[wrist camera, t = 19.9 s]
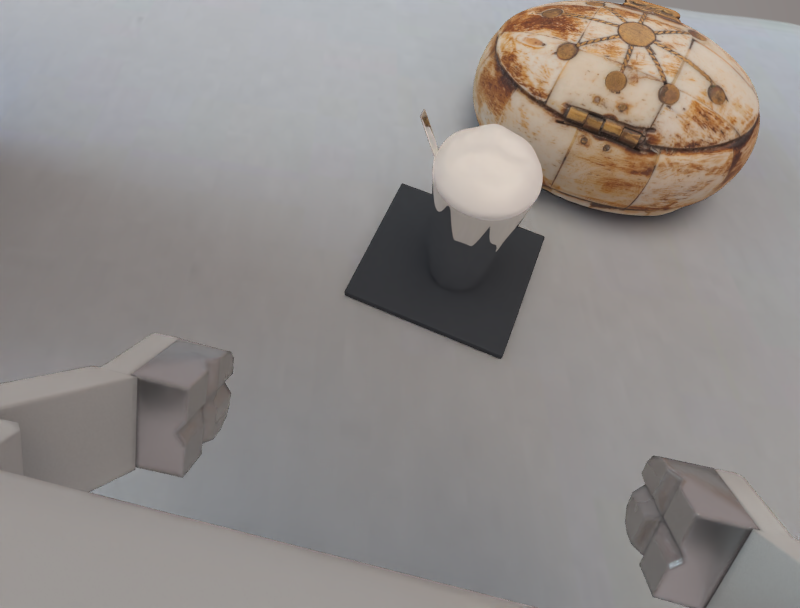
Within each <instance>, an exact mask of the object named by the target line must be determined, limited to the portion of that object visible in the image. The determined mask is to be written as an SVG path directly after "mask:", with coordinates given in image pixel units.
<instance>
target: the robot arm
mask: <svg viewBox="0 0 800 608" xmlns="http://www.w3.org/2000/svg"><path fill="white" fill-rule="evenodd" d="M233 363H234V357H233V355H232V353H231V352H230V351H226V350H222V349H218V348H214V347H211V346H207V345H203V344H199V343H195V342H192V341H188V340H184V339H181V338H178V337H173V336H169V335H164V334H159V333H152V334H151V335H149V336H148V337H146V338H145V339H143V340H142V341H140V342H139V343H137V344H135V345H134V346H132V347H131V348H129V349H128V350H126V351H125V352H123V353H122V354H120V355H119V356H117V357H116V358H114V359H113V360H111V361H110V362H108V363H107V364H105V365H104V366H102V367H101V368H99V367H95V366H88V367H83V368H78V369H73V370H67V371H62V372H57V373H52V374H47V375H41V376H36V377H31V378H26V379H21V380H16V381H10V382H5V383H0V608H537V607H533V606H529V605H525V604H521V603H517V602H513V601H509V600H506V599H502V598H498V597H494V596H490V595H486V594H482V593H478V592H474V591H471V590H467V589H463V588H459V587H455V586H451V585H447V584H443V583H439V582H436V581H432V580H428V579H424V578H420V577H416V576H412V575H408V574H404V573H401V572H397V571H393V570H389V569H385V568H381V567H377V566H373V565H369V564H366V563H362V562H358V561H354V560H350V559H346V558H342V557H338V556H334V555H331V554H327V553H323V552H319V551H315V550H311V549H307V548H303V547H299V546H296V545H292V544H288V543H284V542H280V541H276V540H272V539H268V538H264V537H261V536H257V535H253V534H249V533H245V532H241V531H237V530H233V529H229V528H226V527H222V526H218V525H214V524H210V523H206V522H202V521H198V520H194V519H191V518H187V517H183V516H179V515H175V514H171V513H167V512H163V511H160V510H156V509H152V508H148V507H144V506H140V505H136V504H132V503H128V502H125V501H121V500H117V499H113V498H109V497H105V496H101V495H97V494H93V493H90V491H92V490H94V489H97V488H99V487H101V486H103V485H105V484H107V483H109V482H111V481H113V480H115V479H117V478H119V477H121V476H123V475H125V474H127V473H129V472H131V471H133V470H135V467H137V468H142V469H146V470H151V471H155V472H160V473H164V474H169V475H173V476H178V477H182V478H183V477H184V475H185V474H186V473H187V472H188V470H189V469H190V468H191V467H192V465H193V464H194V463H195V462H196V460H197V459H198V458H199V457H200V455H201V454H202V444H203V443H205V442H208V441H210V440H213V439H214V438H215V436H216V435H217V434H218V432H219V431H220V430H221V428H222V425H223V423H224V421H225V419H226V417H227V413H228V409H229V405H230V397H231V392H230V391H229V389H228V387H227V385H226V383H225V381H226V380H227V379H228V378H229V377H230V376H231V375H232V374H233ZM642 476H643V479H644V482H645V485H644V486H642V487H640V488H639V489H637V490H635V491H634V492H632V495H631V497H630V500H629V502H628V504H627V508H626V517H625V524H626V531H627V535H628V537H629V540H630V542H631V544H632V545H633V546H634V547H635V548H636V549H637V550H638V551H639V552H640V553H641V554H642V555H643V558H642V560H641V562H640V564H639V565H640V567H641V570H642V572H643V574H644V577H645V579H646V582H647V584H648V587H649V589H650V591H651V594H652V596H653V597H654V598H658V599H661V600H665V601H669V602H672V603H676V604H679V605H683V606H686V607H690V608H800V540H796V539H794V538H793V537H792V536H791V535H790V533H789V532H788V531H787V530H786V528H785V527H784V526H783V525H782V524H781V522H780V521H779V520H778V519H777V517H776V516H775V515H774V514H773V512H772V511H771V510H770V509H769V508H768V506H767V505H766V504H765V503H764V501H763V500H762V499H761V498H760V496H759V495H758V494H757V493H756V491H755V490H754V489H753V488H752V487H751V485H750V484H749V483H748V482H747V480H746V479H745V478H744V477H742V476H741V475H739V474H737V473H734V472H729V471H724V470H719V469H714V468H710V467H705V466H701V465H696V464H692V463H687V462H682V461H678V460H673V459H669V458H664V457H658V456H652V457H651V458H650V459H649V461H648V462H647V463H646V465H645V467H644V469H643V471H642Z"/></svg>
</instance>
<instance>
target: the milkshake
mask: <svg viewBox="0 0 800 608" xmlns="http://www.w3.org/2000/svg"><path fill="white" fill-rule="evenodd" d="M420 118H421V121H422V124H423V127H424V130H425V133H426V135H427V138H428V141H429V144H430V147H431V149H432V152H433V155H434V162H433V169H432V172H433V173H432V229H431V243H430V261H429V272H430V274H431V275H432V276H433V278H434V279H435V280H436V282H437V283H438V284H439V286H441V287H444V288H446V289H449V290H452V291H455V292H461V291H466V290H471V289H475V288H476V287H477V285H478V284H479V283H480V282H481V281H482V280H483V278H484V277H485V276H486V275H487V273H488V272H489V270H490V268H491V267H492V265H493V264H494V262H495V260H496V259H497V257H498V256H499V254H500V252H501V251H502V249H503V248H504V246H505V244H506V243H507V241H508V240H509V238H510V236H511V235H512V233H513V232H514V231H515V229H516V228H517V227H518V225H519V224H520V222H521V221H522V219H523V218H524V217H525V215H526V214H527V212H528V211H529V209H530V208H531V206H532V205H533V204H534V202H535V201H536V199H537V198H538V196H539V193H540V191H541V187H542V182H543V173H542V168H541V164H540V162H539V159H538V157H537V155H536V153H535V151H534V149H533V147H532V146H531V145H530V144H529V143H528V142H527V141H526V140H525V139H524V138H522V137H521V136H519V135H517V134H515V133H513V132H512V131H510V130H508V129H507V128H505V127H503V126H501V125H499V124H488V125H482V126H478V127H474V128H468V129H463V130H460V131H458V132H456V133H454V134H453V135H451V136H450V137H449V138H447V139H446V140H445V141H444V143H443V144H442V145H441V146H440V148H439V149H438V146H437V144H436V141H435V138H434V135H433V132H432V129H431V126H430V123H429V120H428V117H427V114H426V112H425V109H424V110H423V111H422V113H421V115H420Z"/></svg>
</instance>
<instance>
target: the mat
mask: <svg viewBox="0 0 800 608" xmlns="http://www.w3.org/2000/svg"><path fill="white" fill-rule="evenodd" d="M431 229H432V194H429V193H427V192H424V191H421V190H419V189H416V188H413V187H411V186H408V185H405V184H401V186H400V188H399V190H398V192H397V194H396V196H395V198H394V199H393V201H392V203H391V205H390V207H389V209H388V211H387V213H386V215H385V216H384V218H383V220H382V222H381V224H380V226H379V228H378V230H377V232H376V233H375V235H374V237H373V239H372V241H371V243H370V245H369V247H368V249H367V250H366V252H365V254H364V256H363V258H362V260H361V262H360V264H359V266H358V267H357V269H356V271H355V273H354V275H353V277H352V279H351V281H350V283H349V284H348V286H347V288H346V290H345V295H347V296H349V297H351V298H354V299H356V300H359V301H361V302H364V303H366V304H369V305H371V306H373V307H376V308H378V309H381V310H383V311H386V312H388V313H390V314H393V315H395V316H398V317H400V318H403V319H405V320H408V321H410V322H412V323H415V324H417V325H420V326H422V327H425V328H427V329H430V330H432V331H434V332H437V333H439V334H442V335H444V336H447V337H449V338H451V339H454V340H456V341H459V342H461V343H464V344H466V345H469V346H471V347H473V348H476V349H478V350H481V351H483V352H486V353H488V354H490V355H493V356H495V357H498V358H502V356H503V354H504V351H505V348H506V345H507V343H508V340H509V337H510V334H511V331H512V328H513V325H514V323H515V320H516V317H517V314H518V311H519V308H520V306H521V303H522V300H523V297H524V294H525V291H526V289H527V286H528V283H529V280H530V277H531V274H532V271H533V269H534V266H535V263H536V260H537V257H538V254H539V252H540V249H541V246H542V243H543V240H544V236H541V235H539V234H536V233H533V232H531V231H528V230H525V229H523V228H520V227H517V228H516V229H515V231H514V232H513V233H512V235H511V236H510V238H509V240H508V241H507V243H506V244H505V246H504V248H503V249H502V251H501V252H500V254H499V256H498V257H497V259H496V260H495V262H494V264H493V265H492V267H491V268H490V270H489V272H488V273H487V275H486V276H485V277H484V278H483V280H482V281H481V282H480V283H479V284H478V285H477V287H476V288H475V289H471V290H466V291H461V292H455V291H452V290H449V289H446V288H444V287H441V286H439V284H438V283H437V282H436V280H435V279H434V278H433V276H432V275H431V274H430V272H429V261H430V243H431Z"/></svg>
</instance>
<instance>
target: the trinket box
mask: <svg viewBox="0 0 800 608" xmlns="http://www.w3.org/2000/svg"><path fill="white" fill-rule="evenodd" d="M679 18H680V15H679V13H677V12H676V11H673V10H671V9H668V8H665V7H662V6H659V5H655V4H652V3H648V2H645V1H642V0H625V3H623V4H616V3H610V2H603V1H583V0H578V1H562V2H555V3H549V4H544V5H540V6H537V7H533V8H530V9H527V10H525V11H522V12H520V13H518V14H516V15H515V16H513V17H511V18H510V19H509V20H507V21H506V22H505V23H504V24H503V26H502V27H501V28H500V29H499V31H498V32H497V33H496V34H495V35H494V36H493V38H492V39H491V41H490V42H489V44H488V45H487V47H486V49H485V51H484V53H483V55H482V57H481V59H480V62H479V65H478V67H477V70H476V75H475V79H474V86H473V102H474V108H475V112H476V116H477V119H478V122H479V125H480V126H482V125H488V124H499V125H501V126H503V127H505V128H507V129H508V130H510V131H512V132H513V133H515V134H517V135H519V136H521V137H522V138H524V139H525V140H526V141H527V142H528V143H529V144H530V145H531V146H532V147H533V149H534V151H535V153H536V155H537V157H538V159H539V162H540V164H541V168H542V173H543V182H542V187H541V188H543V189H545V190H548V191H549V192H551V193H553V194H555V195H556V196H559V197H562V198H564V199H565V200H568V201H570V202H574V203H577V204H579V205H582V206H586V207H589V208H593V209H598V210H601V211H605V212H612V213H617V214H625V215H639V216H657V215H663V214H666V213H669V212H672V211H675V210H677V209H679V208H682V207H684V206H688V205H691V204H694V203H697V202H699V201H702V200H704V199H706V198H708V197H709V196H711V195H713V194H714V193H716V192H717V191H719V190H720V189H721V188H722V187H724V186H725V185H726V184H727V183H728V182H729V181H731V180H732V179H733V178H734V177H735V176H736V174H737V173H738V172H739V171H740V170H741V168H742V167H743V166H744V164H745V163H746V161H747V160H748V158H749V156H750V154H751V153H752V150H753V148H754V145H755V143H756V139H757V136H758V131H759V124H760V115H759V101H758V96H757V93H756V91H755V88H754V86H753V84H752V82H751V80H750V79H749V77H748V75H747V74H746V73H745V71H744V70H743V69H742V67H741V66H740V65H739V64H738V63H737V62H736V61H735V60H734V59H733V58H732V57H731V56H730V55H729V54H728V53H727V52H726V51H724V50H723V49H722V48H721V47H720V46H718V45H717V44H716V43H715V42H713V41H712V40H710V39H709V38H708V37H706V36H705V35H703V34H701V33H700V32H698V31H696V30H694V29H692V28H691V27H689V26H687V25H685V24H683V23H681V21H680V20H679Z"/></svg>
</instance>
